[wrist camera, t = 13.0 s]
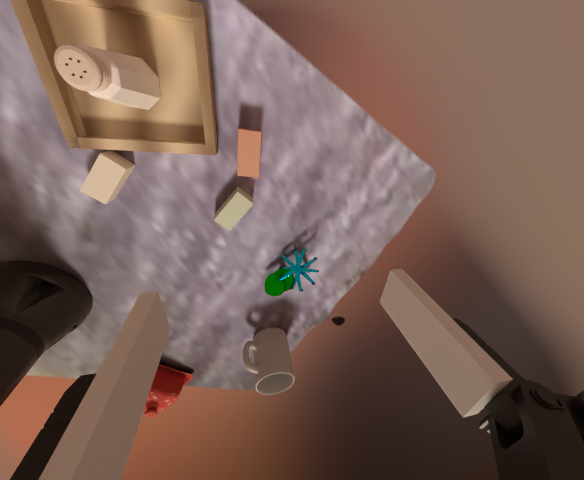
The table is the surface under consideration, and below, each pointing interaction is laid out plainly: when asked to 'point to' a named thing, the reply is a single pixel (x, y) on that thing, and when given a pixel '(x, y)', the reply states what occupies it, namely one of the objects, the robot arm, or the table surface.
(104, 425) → the robot arm
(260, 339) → the mug
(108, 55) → the pepper shaker
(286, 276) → the stick construction toy
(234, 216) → the sage brick
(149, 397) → the butter dish
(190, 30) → the oak tray
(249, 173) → the terracotta brick
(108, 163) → the cream brick
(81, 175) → the table surface
